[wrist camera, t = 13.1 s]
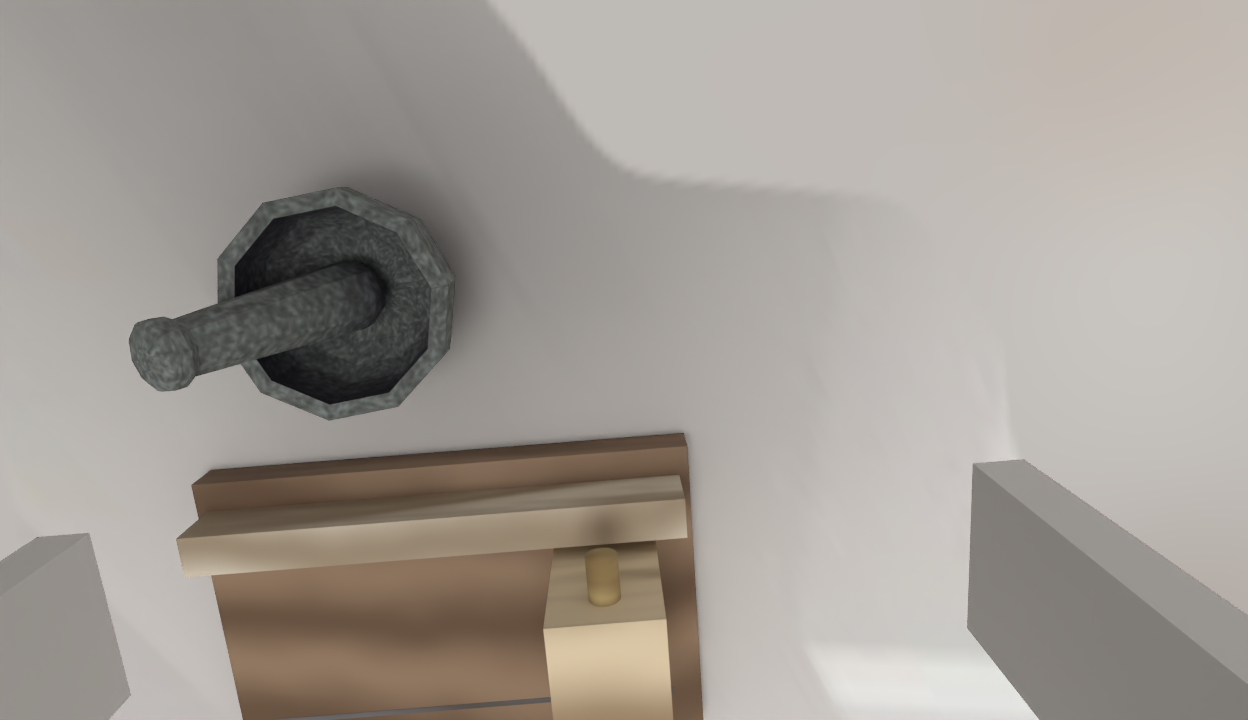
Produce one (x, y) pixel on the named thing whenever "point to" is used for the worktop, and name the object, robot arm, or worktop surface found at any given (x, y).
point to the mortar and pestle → (315, 308)
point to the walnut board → (430, 574)
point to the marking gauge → (607, 634)
